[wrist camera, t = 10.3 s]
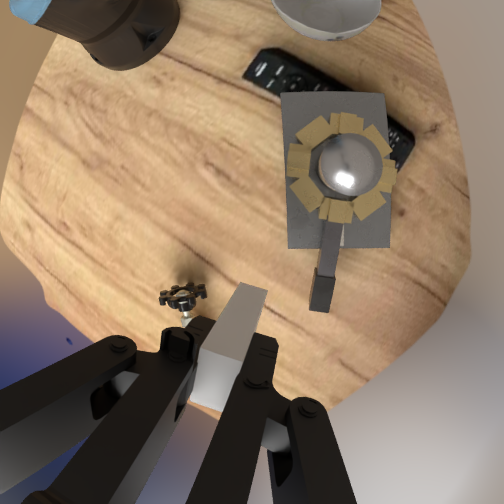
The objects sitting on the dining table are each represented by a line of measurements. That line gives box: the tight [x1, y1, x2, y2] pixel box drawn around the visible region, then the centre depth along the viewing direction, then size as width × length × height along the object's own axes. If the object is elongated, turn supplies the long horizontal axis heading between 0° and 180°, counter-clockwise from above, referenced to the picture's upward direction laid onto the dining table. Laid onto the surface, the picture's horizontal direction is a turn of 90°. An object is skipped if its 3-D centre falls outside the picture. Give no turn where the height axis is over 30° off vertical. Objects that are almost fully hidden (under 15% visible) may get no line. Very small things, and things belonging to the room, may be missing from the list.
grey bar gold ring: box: [286, 112, 397, 313], centre depth 31 cm, size 11×21×4 cm, turn 174°
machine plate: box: [280, 91, 391, 249], centre depth 28 cm, size 18×12×13 cm, turn 3°
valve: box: [159, 283, 207, 327], centre depth 40 cm, size 7×7×12 cm
